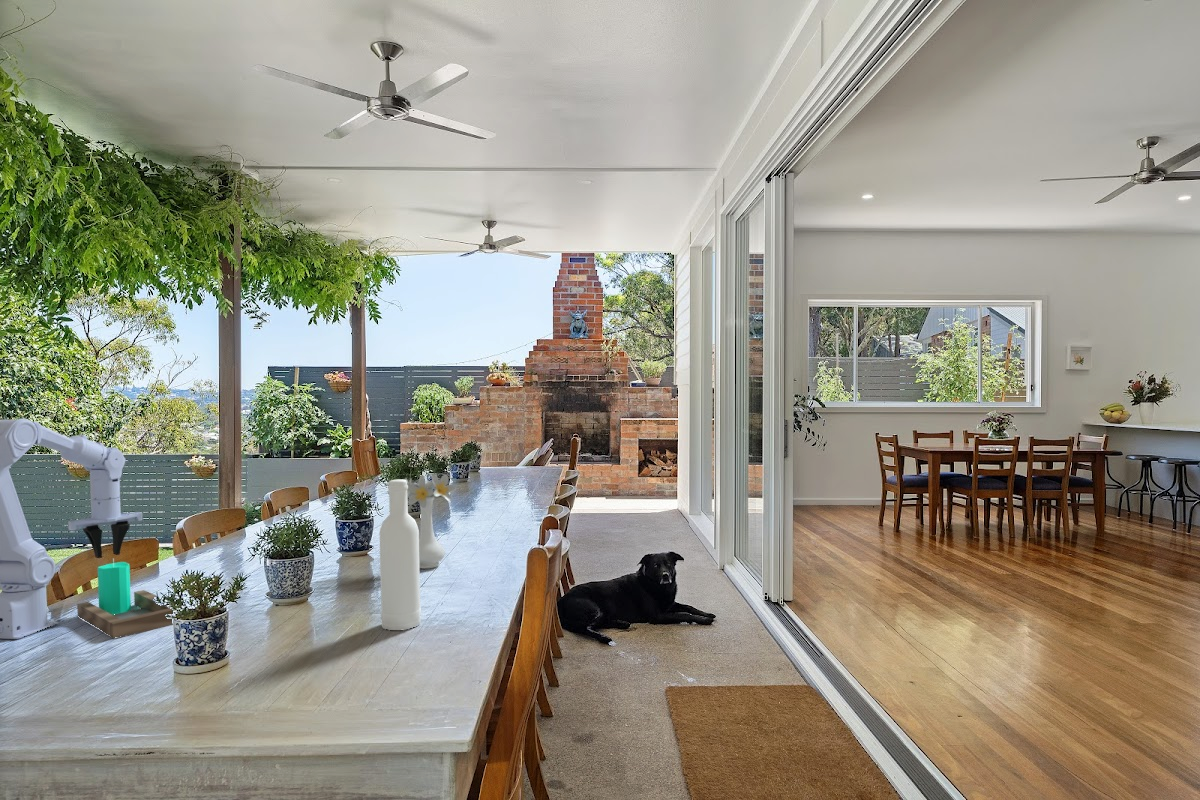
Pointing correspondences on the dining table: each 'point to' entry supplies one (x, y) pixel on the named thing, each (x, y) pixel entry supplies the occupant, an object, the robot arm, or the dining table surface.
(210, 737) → the dining table surface
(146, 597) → the u rest
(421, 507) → the flower vase
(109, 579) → the candle
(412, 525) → the bottle
